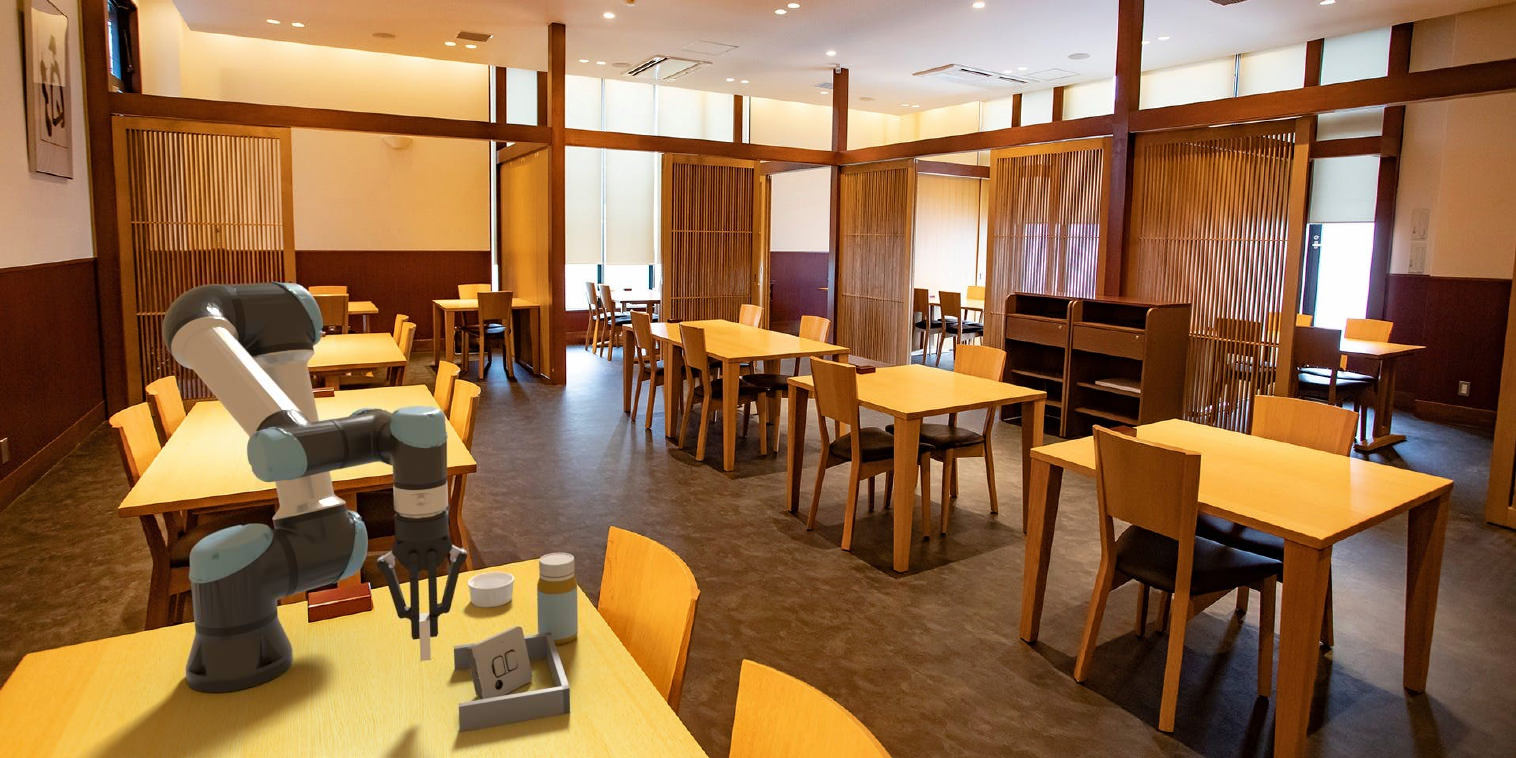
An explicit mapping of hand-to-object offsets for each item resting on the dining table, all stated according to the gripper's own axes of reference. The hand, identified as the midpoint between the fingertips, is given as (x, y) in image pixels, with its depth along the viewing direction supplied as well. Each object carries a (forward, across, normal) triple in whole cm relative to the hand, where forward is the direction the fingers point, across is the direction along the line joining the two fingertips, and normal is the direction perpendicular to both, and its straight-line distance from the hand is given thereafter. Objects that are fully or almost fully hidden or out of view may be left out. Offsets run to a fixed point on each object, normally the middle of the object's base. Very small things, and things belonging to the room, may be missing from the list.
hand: (425, 656), depth 133 cm
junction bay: (+7, +12, -1) cm, 14 cm away
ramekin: (+9, +12, +36) cm, 39 cm away
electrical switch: (+8, +11, 0) cm, 13 cm away
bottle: (+8, +22, +15) cm, 28 cm away
